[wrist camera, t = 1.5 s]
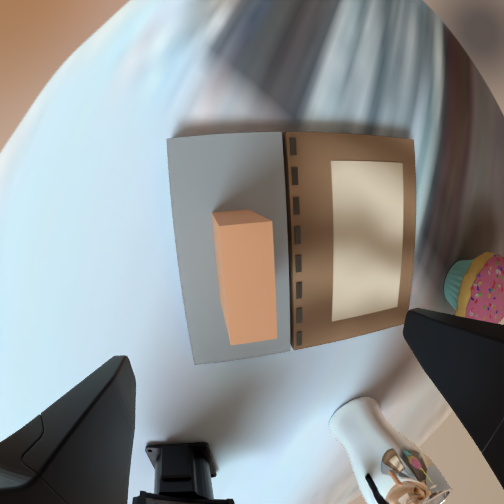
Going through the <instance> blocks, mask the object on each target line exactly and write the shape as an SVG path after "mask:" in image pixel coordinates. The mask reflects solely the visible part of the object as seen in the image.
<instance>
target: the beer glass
mask: <svg viewBox="0 0 504 504" xmlns="http://www.w3.org/2000/svg"><path fill="white" fill-rule="evenodd" d="M329 431H330V433H331V434H332V435H333V436H334V438H335V439H336V440H337V441H338V442H339V443H340V444H341V445H342V446H343V448H344V449H345V451H346V453H347V455H348V458H349V460H350V463H351V466H352V470H353V473H354V476H355V479H356V482H357V485H358V488H359V490H360V493H361V495H362V497H363V499H364V501H365V503H366V504H442V503H443V502H444V501H445V500H446V499H447V498H448V497H449V496H450V495H451V493H452V491H453V490H452V488H451V487H450V486H449V484H448V483H447V481H446V480H445V478H444V477H443V475H442V474H441V472H440V471H439V469H438V468H437V467H436V466H435V464H434V463H433V462H432V460H431V459H430V458H429V457H428V456H427V455H426V454H425V453H424V452H423V451H422V450H421V449H420V448H419V447H418V446H417V445H415V444H414V443H413V442H412V441H410V440H409V439H408V438H406V437H405V436H404V435H402V434H401V433H400V432H399V431H397V430H396V429H395V428H394V427H393V426H392V425H391V424H390V423H389V422H388V421H387V420H386V418H385V417H384V415H383V413H382V411H381V409H380V407H379V405H378V403H377V402H376V400H375V399H373V398H371V397H360V398H356V399H354V400H351V401H349V402H348V403H346V404H344V405H343V406H342V407H340V408H339V409H338V410H337V411H336V412H335V413H334V415H333V416H332V418H331V419H330V422H329Z"/></svg>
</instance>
